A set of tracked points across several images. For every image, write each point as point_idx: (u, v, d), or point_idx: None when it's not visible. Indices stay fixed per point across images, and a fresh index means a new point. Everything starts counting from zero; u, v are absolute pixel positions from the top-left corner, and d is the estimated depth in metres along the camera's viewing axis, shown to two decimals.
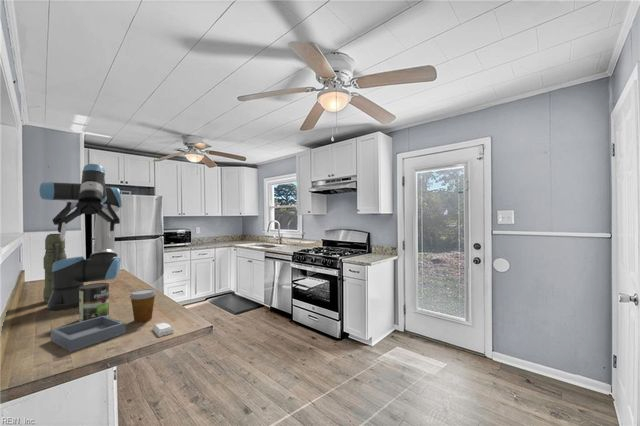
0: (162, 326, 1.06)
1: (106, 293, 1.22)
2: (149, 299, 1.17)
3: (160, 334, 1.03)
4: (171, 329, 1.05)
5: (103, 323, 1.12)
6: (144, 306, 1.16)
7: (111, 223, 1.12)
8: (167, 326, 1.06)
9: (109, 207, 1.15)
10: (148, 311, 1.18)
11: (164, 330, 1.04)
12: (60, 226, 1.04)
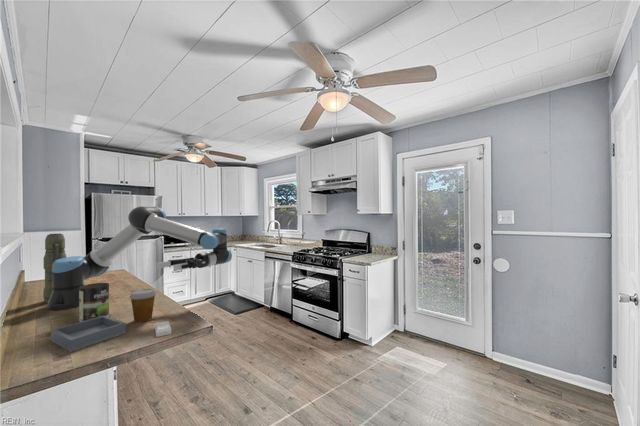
0: (161, 326, 1.06)
1: (106, 293, 1.22)
2: (149, 299, 1.17)
3: (157, 334, 1.02)
4: (169, 330, 1.05)
5: (103, 323, 1.12)
6: (144, 306, 1.16)
7: None
8: (166, 326, 1.06)
9: None
10: (148, 311, 1.18)
11: (162, 330, 1.03)
12: (185, 267, 1.28)
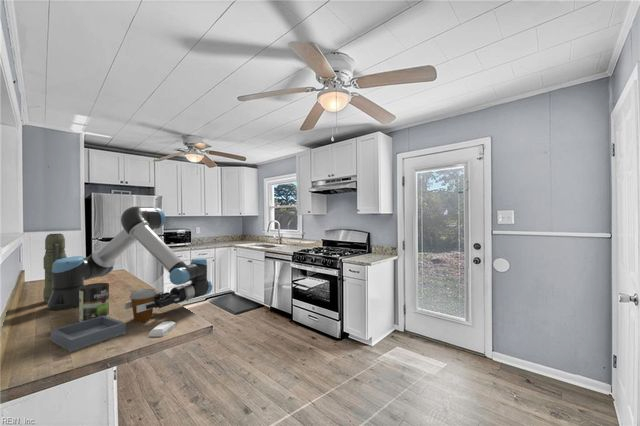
0: (160, 326, 1.06)
1: (106, 293, 1.22)
2: (149, 299, 1.17)
3: (150, 334, 1.03)
4: (161, 332, 1.03)
5: (103, 323, 1.12)
6: None
7: None
8: (161, 327, 1.05)
9: None
10: (148, 311, 1.18)
11: (155, 331, 1.03)
12: None
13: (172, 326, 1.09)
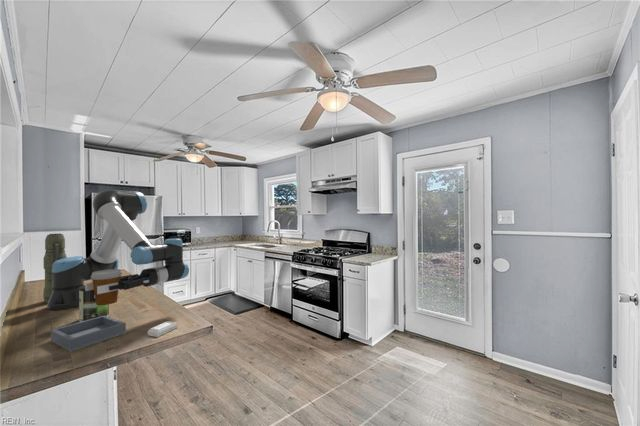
0: (159, 326, 1.06)
1: None
2: (113, 280, 1.05)
3: (148, 333, 1.03)
4: (156, 332, 1.02)
5: (103, 323, 1.12)
6: None
7: None
8: (159, 328, 1.04)
9: None
10: (112, 293, 1.05)
11: (152, 331, 1.03)
12: (115, 289, 1.04)
13: (172, 327, 1.08)
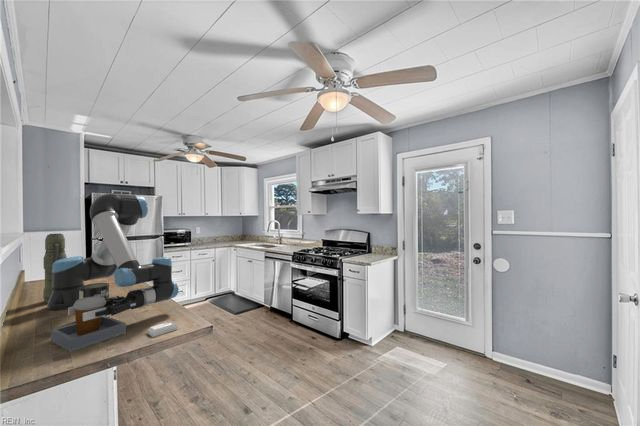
0: (159, 326, 1.07)
1: (106, 293, 1.22)
2: None
3: (148, 331, 1.05)
4: (152, 332, 1.03)
5: (103, 323, 1.12)
6: None
7: None
8: (156, 328, 1.05)
9: None
10: (93, 324, 1.02)
11: (150, 329, 1.04)
12: None
13: (171, 328, 1.07)
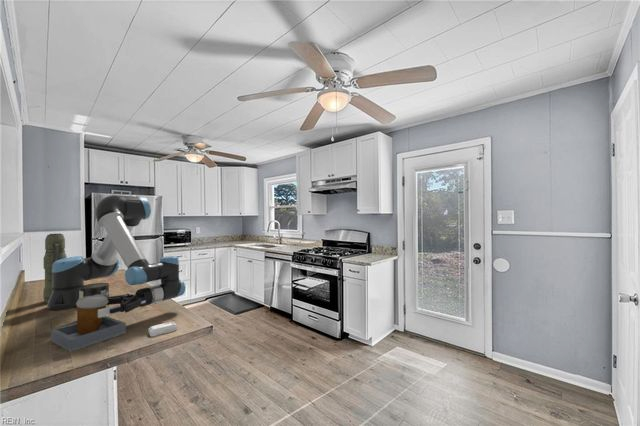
0: (159, 325, 1.07)
1: (106, 293, 1.22)
2: (97, 309, 1.03)
3: (148, 331, 1.06)
4: (150, 332, 1.03)
5: (103, 323, 1.12)
6: (89, 317, 1.02)
7: None
8: (156, 327, 1.05)
9: None
10: (94, 323, 1.03)
11: (150, 329, 1.05)
12: None
13: (170, 329, 1.07)
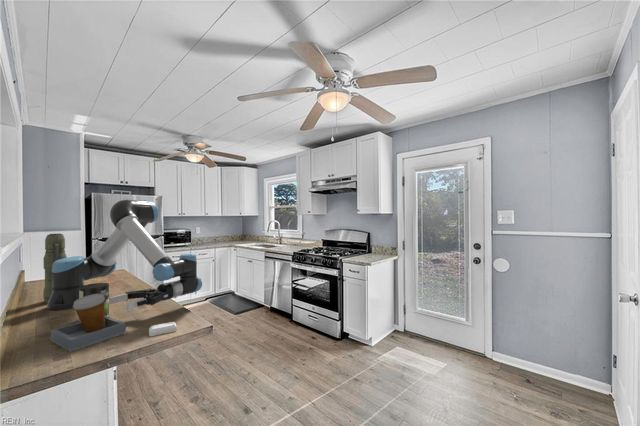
0: (159, 325, 1.07)
1: (106, 293, 1.22)
2: (94, 308, 1.03)
3: (149, 330, 1.06)
4: (149, 331, 1.03)
5: None
6: (89, 316, 1.03)
7: None
8: (155, 327, 1.05)
9: None
10: (96, 320, 1.04)
11: (150, 328, 1.05)
12: None
13: (170, 329, 1.06)
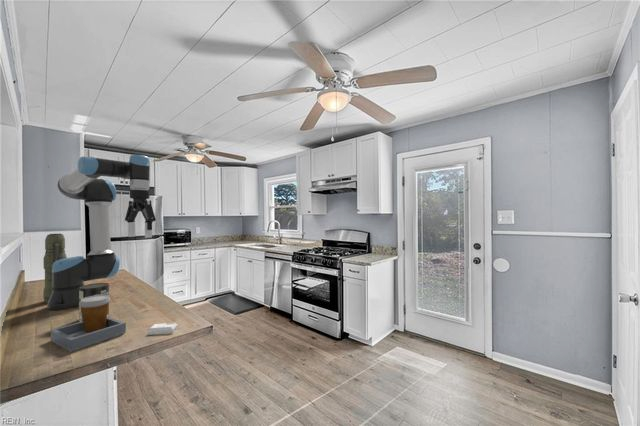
0: (160, 325, 1.07)
1: (106, 293, 1.22)
2: (99, 307, 1.05)
3: None
4: None
5: None
6: (92, 315, 1.04)
7: (147, 223, 1.22)
8: (154, 326, 1.06)
9: (145, 205, 1.22)
10: (98, 321, 1.05)
11: (151, 327, 1.07)
12: None
13: (166, 331, 1.05)
